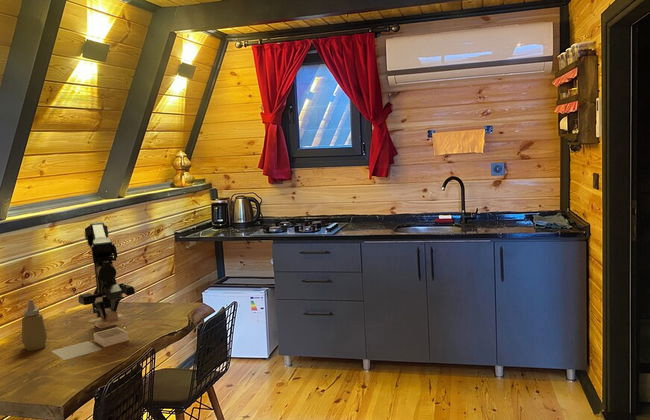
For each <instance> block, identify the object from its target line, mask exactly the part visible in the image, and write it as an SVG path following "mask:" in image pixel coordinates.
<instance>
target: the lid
mask: <svg viewBox="0 0 650 420" xmlns="http://www.w3.org/2000/svg"><path fill="white" fill-rule="evenodd" d="M105 314H106V319H104V318H103V316H102V315H101V317H99V318H97V317H96V318H92V319H88V323H90V324H92V325H93V326H94V327H96V326H97V327H96V328H99V329H105V328H109V327H113V325H114V326H116V325H120V324H124V323H128V322H131V321H132V320H131V318H130V317H127V316H125V315H123V314H120V313H119V312H117V311H116V312H115V311H113V310H111V309H105Z"/></svg>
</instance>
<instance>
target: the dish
mask: <svg viewBox="0 0 650 420" xmlns="http://www.w3.org/2000/svg"><path fill="white" fill-rule="evenodd" d="M93 341H94V342H95V343H97V344H99V345H100V346H102V347H104V348H106V347H109V346H112V345H116V344H120V343H123V342H127V341H129V332H128V331H126V330H124V329H123V328H120V327H118V326H116V327H113V328H109V329H104V330H101V331H96V332H93Z"/></svg>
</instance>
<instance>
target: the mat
mask: <svg viewBox="0 0 650 420" xmlns="http://www.w3.org/2000/svg"><path fill="white" fill-rule="evenodd" d="M98 351H103V348H102V347H99V346H97V345H96V344H94V343H92V342H91V341H89V340H87V341H84V342H79V343H75V344H72V345H67V346H64V347H60V348H57V349H54V350H51V353H53V354H54V355H56V357H58V358H60V359H62V360H63V361H67V360H70V359H74V358H78V357H81V356H84V355H88V354H91V353H95V352H98Z"/></svg>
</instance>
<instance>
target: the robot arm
mask: <svg viewBox="0 0 650 420" xmlns="http://www.w3.org/2000/svg"><path fill="white" fill-rule="evenodd" d="M84 239H85V241H87V246H88V247H89V248H90V249H91V250H90V251H91V252H90V253H91V257H92V261H93V262H92V263H93V265H94V266H93V267H94V275H95V285H96V287H95V289H94V291H93V293H90V292H88V293H82V294H79V295H78V298H77V299H78V304H81V305H83V306H87V305H88V306H89V305H91V309H92V310H91V311H92V313H93V314H96V318H99V317H101V315H102V316H103V318H104V319H106V314H105V309H111V310H113V311H115V312H117V311H118V306H119V304H120V302H121V301H122V300H124V298H125V297H124V296H123V294H125V296H127V297H128V296H132V295H136V289H135V287H133V286H132V285H129V284H126V282H121V283H117V280H116V279H117V278H116V276H117V269H116V268H115V266H114V265H113V264H114V262H116V261H117V258H118V249H117V247H116V245H115V244H114V243H113V241H112V239H111V238H109V227H108V225H106V224H105V223H104V222H102V221H99V222H98V221H97V222H92V223H89V225H88V226H87V227H85V228H84ZM113 326H115V325H113ZM113 326H112V327H113ZM95 327H96V328H98V327H97V326H95Z"/></svg>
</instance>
